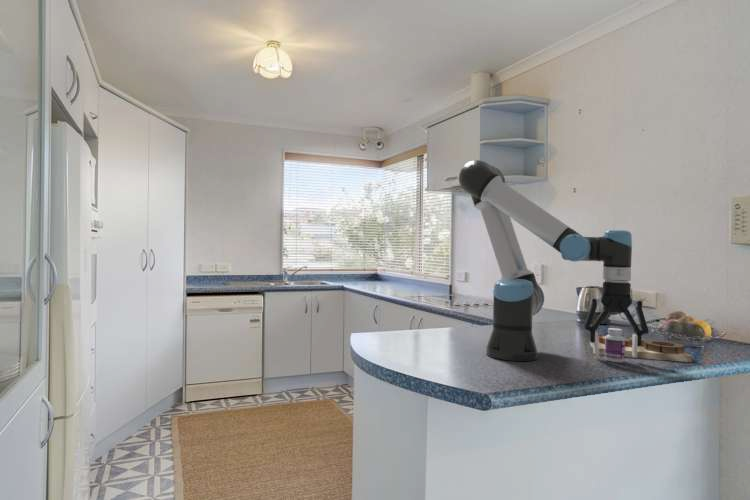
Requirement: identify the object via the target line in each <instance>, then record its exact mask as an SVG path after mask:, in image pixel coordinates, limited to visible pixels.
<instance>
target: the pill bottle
mask: <svg viewBox="0 0 750 500" xmlns="http://www.w3.org/2000/svg"><path fill="white" fill-rule="evenodd" d="M607 333H608V334H606V335H605V336H606V337H605V355H604V360H605V361H607V362H610V363H619V364H620V363H624V362H625V357H624V353H625V338H626V337H625V336H623V333H624V330H623V329H622V328H618V327H617V328H613V327H609V328H607ZM624 337H625V338H624Z"/></svg>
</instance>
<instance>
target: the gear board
mask: <svg viewBox="0 0 750 500" xmlns="http://www.w3.org/2000/svg"><path fill="white" fill-rule="evenodd" d="M606 336H607V335H599V336H598V352H597V355H599V356H605V337H606ZM623 337H624V338H625V353H624V358H633V359H634V358H635V359H645V360H659V361H670V362H671V361H673V362H681V363H683V362H684V363H693V355H692V354H690V353H688V352H686V351H685V350H686V349H685V347H686V346H685V345H683V344H681V343H677V342H673V341H672V342H671V341H665V340H654V339H651V340H647V339H646V338H641V346H637V357H633V356H632V337H625V336H623ZM589 345H590V347H591V348H592V349H593V342H590V341H589Z"/></svg>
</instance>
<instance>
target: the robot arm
mask: <svg viewBox="0 0 750 500" xmlns="http://www.w3.org/2000/svg"><path fill="white" fill-rule="evenodd" d="M458 182H459V186H460V188H462V190H463V191H464V192H465V193H467V194H469V195H470V196H471V198H472V199H471V200H472V203H473V207H474V208H475V209H476V210H479V211H480V212H481V216H482V218H483V222H484V225H485V227H486V228H485V229H486V231H487V235H488V237H489V241H490V243H491V247H492V249H493V252H494V253H493V254H494V256H495V259H496V262H497V266H498V268H499V272H500V274H501V278H500V279H499V280H497V281H496V282H495V283H494V286H493V290H492V291H493V292H492V294H493V305H492V306H493V310H492V314H493V315H492V331H491V334H490V337H489V340H488V342H487V345H486V351H485V353H486V355H487V356H488V357H490V358H495V359H498V360H503V361H512V362H529V361H530V362H531V361H536V360H537V359H538V353H539V352H538V348H537V345H536V341H535V338H534V334H533V316H536V314H538V313H539V312H540V311H541V309H542V308H543V306H544V302H545V294H544V290H543V289H542V288H541V286H540V285H539V284H538V281H537V278H536V276H535V273H534V272H533V271H531V270H529V269H528V267H527V265H526V261H525V259H524V258H525V257H524V254H523V252H522V249H521V246H520V244H519V240H518V237H517V235H516V231H515V229H514V225H513V222H512V220H513V221H514V222H517V223H518V224H519V225H521V226H522V227H524V228H525V229H527V230H528V231H529V232H531V234H533V235H535V236H536V237H538V238H539V239H540V240H542V241H543V242H545V244H548V245H549V246H550V247H551V248H552V249H554V250H555V251H557V252H558V253H560V254H561V258H562V259H563V260H565V261H571V262H583V261H584V262H602V263H603V271H602V280H603V282H602V295H601V297H600V298H596V297H591V298H590V307H589V311H588V313H587V316H586V318H585V321H584V324H583V328H584V330H586V331H589V343H590V342H593V348H592V351H593V354H594V355H598V353H597V352H598V337H599V332H598V331H597V329H598V328H599V326H600V325H601V323H602V322H603V320H604V319H605V318H606V317H607V315H608V314H609V312H610V313H620V314H621V313H623V315H624V316H625V318H626V319H627V321H628V323H629V324H630V326H631V328H632V330H633V331H634V333H632V337H631V338H632V356H633V357H637V346H641V339H642V336H643V335H645V334H648V333H650V332H649V331H650V330H649V327H648V324H647V320H646V318H645V314H644V312H643V301H642V300H640V299H637V300H635V299H632V298H631V297H632V296H631V287H632V284H631V283H630V281H631V280H632V279H631V278H632V256H633V255H632V251H633V244H632V242H633V241H632V240H633V239H632V237H633V236H632V233H631V232H630V231H628V230H620V229H619V230H617V229H616V230H615V229H614V230H605V231H604V233H603V236H583V235H582V234H580V233H579V232H578V231H576V230H575V229H573V228H571V227H570V226H569V225H567V224H565V223H564V222H562V221H561V220H560V219H558V218H557V217H555V216H554V215H553V214H551V213H549V212H547V211H546V210H545V209H543V208H542V207H540V206H539V205H538V204H536V203H535V202H533V201H531V200H530V199H529V198H527V197H526V196H524V195H523V194H521V193H520V192H519V191H517V190H516V189H514V188H512V187H511V186H510V185H509V184H507V183H506V178H505V176H504V175H503V173H502V171H500V170H499V168H497V167H495V166H493V165H491V164H490V163H488V162H485V161H484V160H480V159H478V160H477V159H475V160H472V161H471V160H470V161H468V162H467V163H466V164H464V165H463V166H462V168H461V169H460V172H459V175H458ZM601 303H602V305H603V306H604V307H603V308H602V309H601V312H600V313H599V314H598V315H597V317H596V319H595V320H594V321H593V318H594V317H595V316H594V315H595V313H596V311H597V306H599V305H600V304H601ZM631 305H632V306H633V307H634V308H635V312H636V315H637V319H638V322H639V326H640V327H639V326H638V324H637V323H636V321H635V319H634V317H633V316H632V314H631V311H630V310H629V307H630V306H631ZM592 321H593V323H592ZM591 324H592V325H591Z"/></svg>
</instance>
